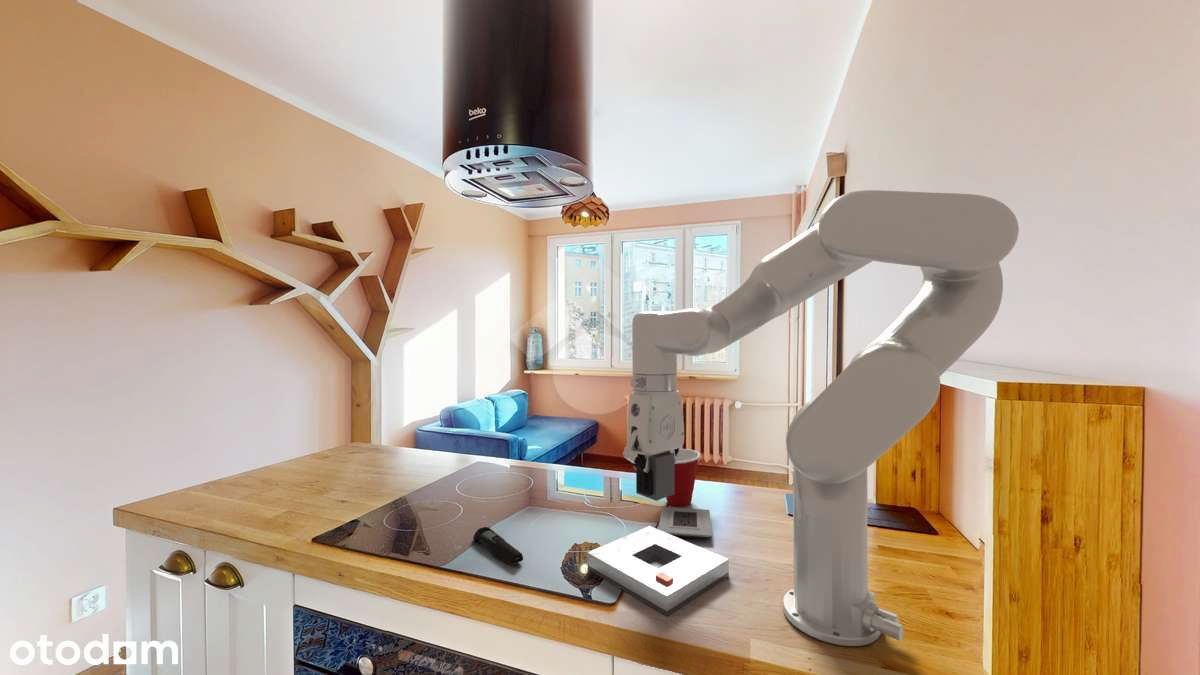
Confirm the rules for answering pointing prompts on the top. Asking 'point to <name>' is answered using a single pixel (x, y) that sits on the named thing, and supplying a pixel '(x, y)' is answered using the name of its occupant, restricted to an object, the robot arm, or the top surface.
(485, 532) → the electric trimmer
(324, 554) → the top surface
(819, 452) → the robot arm
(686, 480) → the plastic cup
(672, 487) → the block
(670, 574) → the socket plate
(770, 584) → the top surface
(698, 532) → the electrical outlet
